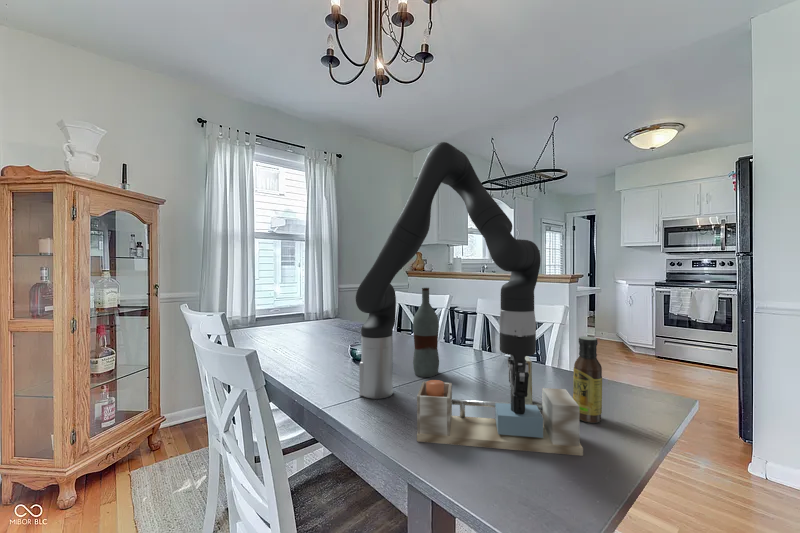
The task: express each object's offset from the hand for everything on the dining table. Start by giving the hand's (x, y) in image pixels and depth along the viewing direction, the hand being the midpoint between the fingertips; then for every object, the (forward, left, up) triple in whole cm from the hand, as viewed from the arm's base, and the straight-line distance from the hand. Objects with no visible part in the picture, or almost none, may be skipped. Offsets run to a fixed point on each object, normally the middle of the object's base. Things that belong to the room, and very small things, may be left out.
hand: (517, 409), depth 78 cm
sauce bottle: (+18, +13, -6) cm, 23 cm away
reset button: (-18, 0, +1) cm, 18 cm away
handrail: (-4, +5, -5) cm, 8 cm away
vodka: (-25, +43, -6) cm, 50 cm away
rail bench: (-5, 0, -6) cm, 8 cm away
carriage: (0, 0, -4) cm, 4 cm away
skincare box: (+4, +21, -6) cm, 22 cm away
